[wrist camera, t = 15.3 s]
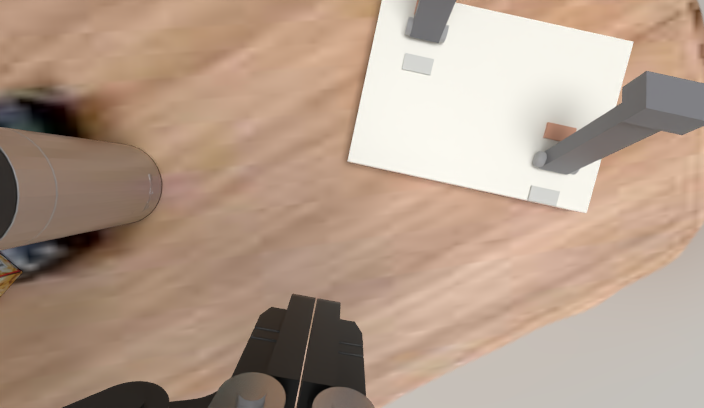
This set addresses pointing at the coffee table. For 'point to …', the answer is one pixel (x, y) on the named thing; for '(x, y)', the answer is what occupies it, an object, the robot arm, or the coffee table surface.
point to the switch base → (485, 101)
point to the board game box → (7, 274)
